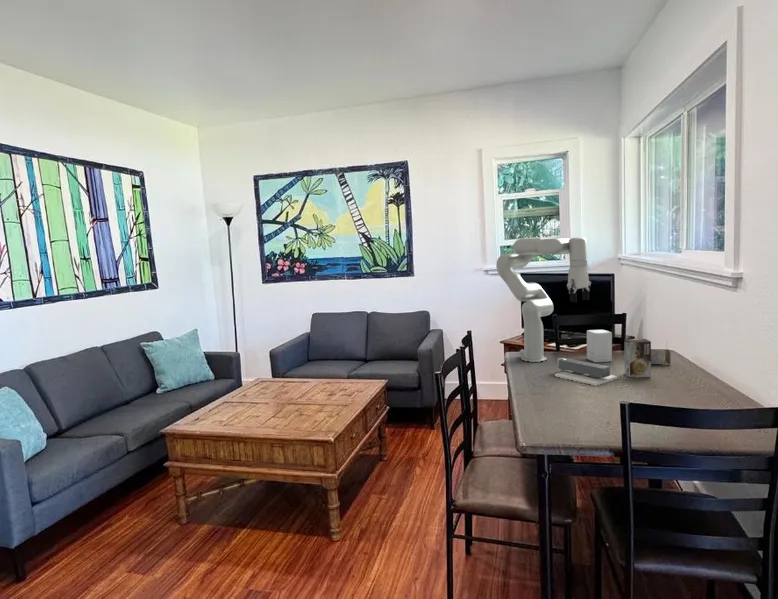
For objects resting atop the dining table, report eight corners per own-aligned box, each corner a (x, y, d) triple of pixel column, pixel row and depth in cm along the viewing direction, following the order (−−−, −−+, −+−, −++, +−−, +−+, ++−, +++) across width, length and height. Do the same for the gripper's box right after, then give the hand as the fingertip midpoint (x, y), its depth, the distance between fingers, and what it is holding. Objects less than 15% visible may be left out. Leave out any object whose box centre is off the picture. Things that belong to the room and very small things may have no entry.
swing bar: (555, 367, 220) (555, 359, 220) (561, 365, 223) (561, 357, 223) (603, 377, 201) (603, 368, 200) (609, 375, 203) (609, 366, 203)
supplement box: (612, 361, 236) (612, 332, 235) (595, 362, 236) (595, 333, 234) (603, 357, 245) (603, 329, 244) (586, 358, 245) (586, 330, 243)
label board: (549, 375, 217) (549, 370, 217) (570, 369, 226) (570, 364, 226) (595, 386, 198) (595, 380, 198) (617, 378, 207) (617, 373, 206)
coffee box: (644, 373, 213) (645, 338, 211) (651, 377, 207) (651, 341, 205) (623, 373, 214) (624, 338, 212) (629, 377, 208) (629, 341, 206)
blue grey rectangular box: (644, 365, 227) (644, 346, 226) (642, 364, 230) (643, 344, 229) (671, 366, 224) (671, 346, 223) (669, 364, 227) (669, 345, 226)
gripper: (582, 263, 227) (583, 299, 229) (559, 265, 217) (561, 302, 219) (596, 263, 221) (597, 299, 222) (574, 265, 211) (575, 303, 213)
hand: (579, 300), depth 221 cm, fingers open, 9 cm apart
